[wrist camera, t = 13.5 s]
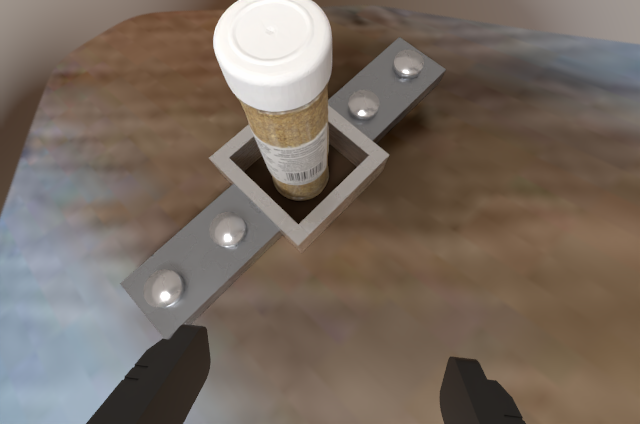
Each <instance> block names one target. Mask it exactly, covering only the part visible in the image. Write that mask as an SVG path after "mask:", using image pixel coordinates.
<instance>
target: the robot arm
mask: <svg viewBox="0 0 640 424" xmlns="http://www.w3.org/2000/svg"><path fill="white" fill-rule="evenodd" d="M209 369H210V352H209V343H208V335H207V329H206V327H203V326H195V325H186V324H182V325H181V326H179V328H178V329H177V330H176V331H175V333H174V334H173V335H172V337H171V338H170V339H162V340H160V341H159V342H158V343H156V344H155V345H153V346H152V347H151V348H149V349H148V350H147V351H146V352H145V353H144V354H143V355H142V357H141V358H140V359H139V360H138V362H137V363H136V364H135V367H134V368H132V369H131V370H130V371H129V372H128V374H127V375H126V376H125V379H124V380H122V381H121V382H120V383H119V385H118V386H117V387H116V388H115V389H114V391H113V392H112V393H111V394H110V395H109V397H108V398H107V399H106V400H105V401H104V403H103V404H102V405H101V406H100V408H99V409H98V410H97V411H96V412H95V414H94V415H93V416H92V417H91V418H90V420H89V421H88V422H87V423H86V424H183V422H184V420H185V419H186V417H187V415H188V413H189V411H190V409H191V407H192V405H193V403H194V402H195V400H196V398H197V396H198V394H199V392H200V390H201V388H202V386H203V385H204V383H205V381H206V379H207V376H208V373H209ZM440 408H441V413H442V417H443V421H444V424H526V423H525V421H523V420H522V416H521V414H520V412H519V410H518V408H517V406H516V404H515V402H514V400H513V398H512V397H511V396H510V395H509V394H508V393H507V392H506V390H505V389H504V388H503V387H502V386H501V385H500V384H499V383H498V382H497V381H494V380H487V378H486V376H485V374H484V372H483V370H482V368H481V365H480V364H479V362H478V361H477V360H476V359H467V358H459V357H450V358H449V360H448V363H447V367H446V371H445V374H444V378H443V382H442V386H441V390H440Z"/></svg>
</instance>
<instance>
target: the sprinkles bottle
mask: <svg viewBox="0 0 640 424" xmlns="http://www.w3.org/2000/svg"><path fill="white" fill-rule="evenodd" d="M213 45H214V50H215V55H216V57H217V60H218V62H219V65H220V68H221V70H222V72H223V74H224V77H225V79H226V81H227V83H228V85H229V87H230V89H231V90H232V92H233V93H234V94H235V95H236V97H237V98H238V99H239V100H240V102H241V105H242V107H243V109H244V111H245V113H246V117H247V119H248V123H249V126H250V129H251V131H252V133H253V135H254V138H255V140H256V142H257V145H258V147H259V149H260V152H261V154H262V156H263V159H264V161H265V163H266V165H267V168H268V170H269V171H270V173H271V175H272V179H273V183H274V186H275V187H276V189H277V191H278V192H279V193H281V194H282V195H283V196H284V197H286V198H288V199H291V200H295V201H304V200H308V199H312V198H314V197H315V196H317V195H319V194H320V193H321V192H322V191H323V189H324V188H325V187H326V184H327V182H328V179H329V168H328V152H329V127H328V90H327V86H328V82H329V78H330V76H331V70H332V32H331V27H330V23H329V21H328V19H327V17H326V15H325V13H324V12H323V10H322V9H321V8H320V7H319V6H318V5H317V4H316V3H315V2H313V1H311V0H238V1H237V2H235V3H234V4H233V5H231V6H230V7H229V8H228V9H227V10H226V11H225V12H224V13H223V15H222V16H221V18H220V20H219V21H218V23H217V25H216V28H215V32H214V38H213Z"/></svg>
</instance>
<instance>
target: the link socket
mask: <svg viewBox="0 0 640 424" xmlns="http://www.w3.org/2000/svg"><path fill="white" fill-rule="evenodd" d="M328 127H329V144H330V145H332V146H333V147H334V148H335V149H336V150H337V151H339V152H340V153H341V154H342V155H343V156H344V157H346V158H347V159H348V160H349V161H350V162H351V163H353V164H354V165H355V166H356V167H357V168H356V169H355V170H354V171H353V172H352V173H351V174H350V175H349V176H347V177H346V178H345V179H344V180H343V181H342V182H341V183H340V184H339V185H338V186H337V187H336V188H335V189H334V190H333V191H332V192H331V193H330V194H329V195H328V196H327V197H326V198H325V199H324V200H323V201H322V202H321V203H320V204H319V205H318V206H317V207H316V208H315V209H314V210H313V211H312V212H311V213H310V214H309V215H308V216H306V217H305V218H304V219H303V220H302V221H301V222H300V223H299V224H297V223H296V222H295V221H294V220H293V219H292V218H291V217H290V216H289V215H288V214H287V213H286V212H285V211H284V210H283V209H282V208H281V207H280V206H279V205H277V204H276V203H275V202H274V201H273V200H272V199H271V198H270V197H269V196H268V195H267V194H266V193H265V192H264V191H263V190H262V189H261V188H260V187H259V186H258V185H257V184H256V183H255V182H254V181H253V180H251V179H250V178H249V177H248V176H247V175H246V174H245V173H244V171H246V170H247V169H248V168H249V167H250V166H251V165H252V164H253V163H255V162H256V161H257V160H258V159H259V158H260V157H261V156H262V154H261V152H260V149H259V147H258V145H257V142H256V140H255V138H254V135H253V133H252V131H251V129H250V126H249V125H248V126H246V127H245V128H244V129H243V130H242V131H240V132H239V133H238V134H237V135H236V136H234V137H233V138H232V139H231V140H230V141H229V142H227V143H226V144H225V145H224V146H223V147H221V148H220V149H219V150H218V151H217V152H215V153H214V154H213V155H212V156H211V157H210V158H209V159H210V160H211V161H212V163H213V164H214V165H215V166H216V168H217V169H218V170H219V171H220V173H221V174H222V175H223V176H224V177H225V178H226V179H227V180H228V181H229V182H230V183H231V184H234V185H235V186H236V187H237V188H238V189H239V190H240V191H241V192H242V193H243V194H244V195H245V196H246V197H247V198H248V199H249V200H250V201H251V202H252V203H253V204H254V205H255V206H256V207H257V208H258V209H259V210H260V211H261V212H262V213H263V214H264V215H265V216H266V217H267V218H268V219H269V220H270V221H271V222H272V223H273V224H274V225H275V226H276V227H277V228H278V229H279V230H280V231H281V233H282V234H283V236H284V237H285V238H286V239H287V240H288V241H289V242H290V243H291V244H292V245H294V246H295V247H296V248H297V249H298V250H299V251H300V252H301V253H302V252H303V251H304V250H305V249H306V248H307V247H308V246H309V245H310V244H311V243H312V242H313V241H314V240H315V239H316V238H317V237H318V236H319V235H320V234H321V233H322V232H323V231H324V230H325V229H326V228H327V227H328V226H329V225H330V224H331V223H332V222H333V221H334V220H335V219H336V218H337V217H338V216H339V215H340V214H341V213H342V212H343V211H344V210H345V209H346V208H347V207H348V206H349V205H350V204H351V203H352V202H353V201H354V200H355V199H356V198H357V197H358V196H359V195H360V194H361V193H362V192H363V191H364V190H365V189H366V188H367V187H368V186H369V185H370V184H371V183H372V182H373V181H374V180H375V179H376V178H377V177H378V176H379V175H380V174H381V173H382V171H383V168H384V166H385V164H386V162H387V159H388V157H389V154H388V153H386V152H385V151H384V150H383V149H382V148H380V147H379V146H378V145H377V144H375V143H374V142H373V141H372V140H371V139H369V138H368V137H367V136H366V135H364V134H363V133H362V132H361V131H360V130H358V129H357V128H356V127H355V126H353V125H352V124H351V123H350V122H348V121H347V120H346V119H345V118H344V117H342V116H341V115H340V114H339V113H337V112H336V111H335V110H334V109H333V108H331V107H330V106H329V105H328Z"/></svg>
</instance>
